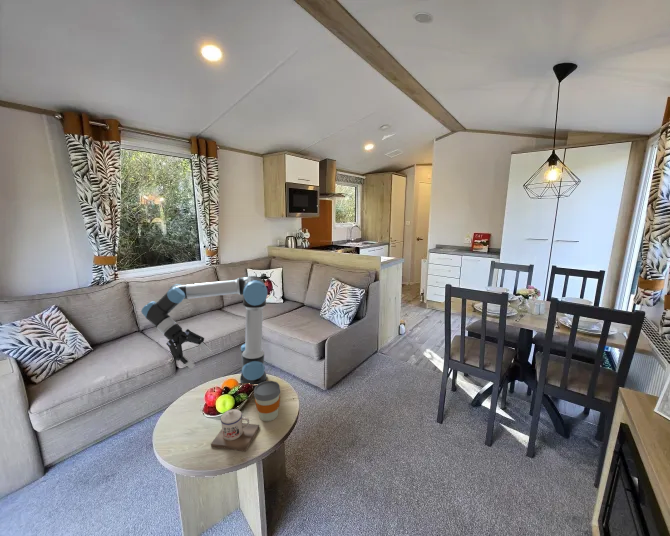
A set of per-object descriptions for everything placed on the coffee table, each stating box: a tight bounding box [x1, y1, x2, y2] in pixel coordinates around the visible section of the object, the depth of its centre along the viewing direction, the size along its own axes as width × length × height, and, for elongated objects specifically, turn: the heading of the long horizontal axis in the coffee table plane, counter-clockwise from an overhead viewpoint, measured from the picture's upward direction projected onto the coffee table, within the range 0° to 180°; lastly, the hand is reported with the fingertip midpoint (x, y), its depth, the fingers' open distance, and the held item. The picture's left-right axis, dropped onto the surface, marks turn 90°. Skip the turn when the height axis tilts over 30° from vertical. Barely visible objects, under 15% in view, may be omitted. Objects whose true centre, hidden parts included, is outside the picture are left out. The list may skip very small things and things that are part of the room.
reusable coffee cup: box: [253, 380, 281, 422], centre depth 146 cm, size 12×13×15 cm
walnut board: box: [210, 422, 260, 452], centre depth 134 cm, size 14×16×2 cm
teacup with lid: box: [220, 408, 250, 440], centre depth 133 cm, size 12×9×12 cm
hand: (201, 359), depth 143 cm, fingers open, 13 cm apart
